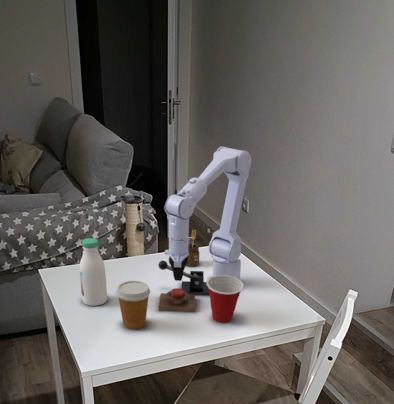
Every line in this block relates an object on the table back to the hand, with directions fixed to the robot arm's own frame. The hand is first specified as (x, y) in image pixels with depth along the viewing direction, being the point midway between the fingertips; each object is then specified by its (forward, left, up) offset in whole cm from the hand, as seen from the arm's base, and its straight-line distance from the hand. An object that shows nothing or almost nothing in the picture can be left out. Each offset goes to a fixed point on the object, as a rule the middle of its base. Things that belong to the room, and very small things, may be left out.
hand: (178, 279), depth 150 cm
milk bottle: (+26, -1, -9) cm, 28 cm away
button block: (0, 0, -9) cm, 9 cm away
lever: (0, -11, -4) cm, 11 cm away
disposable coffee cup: (+12, +13, -9) cm, 20 cm away
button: (0, 0, -5) cm, 6 cm away
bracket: (-6, -11, -9) cm, 15 cm away
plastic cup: (-14, +8, -9) cm, 18 cm away
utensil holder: (-4, -33, -9) cm, 34 cm away
